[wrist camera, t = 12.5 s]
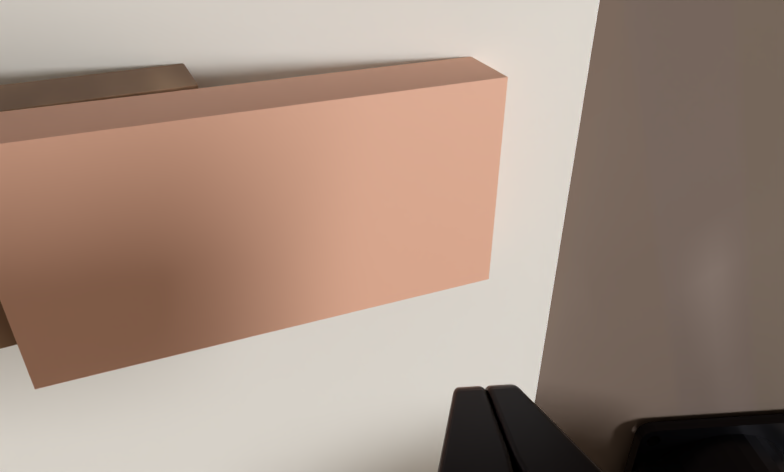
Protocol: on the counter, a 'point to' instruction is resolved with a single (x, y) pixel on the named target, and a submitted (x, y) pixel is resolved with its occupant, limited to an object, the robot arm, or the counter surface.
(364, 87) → the domino
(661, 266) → the counter surface
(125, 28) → the domino mat
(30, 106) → the domino
